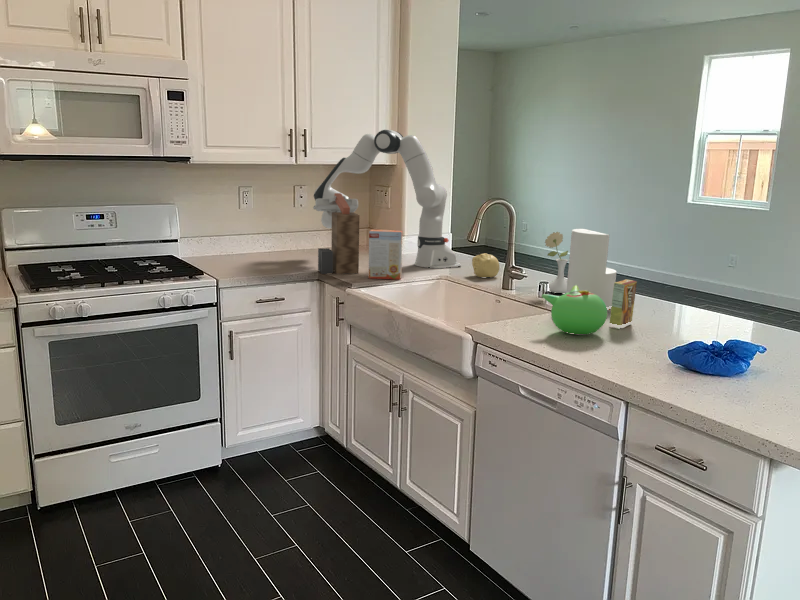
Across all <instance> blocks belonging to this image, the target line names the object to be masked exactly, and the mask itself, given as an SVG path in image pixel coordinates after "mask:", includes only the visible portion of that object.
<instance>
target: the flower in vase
mask: <svg viewBox="0 0 800 600" xmlns="http://www.w3.org/2000/svg"><path fill="white" fill-rule="evenodd" d="M563 239H564V235H563V233H561V232H559V231H556V232H552V233H550V234H549V236H547V237H546V238H545V241H544V243H545V246H546V247H548V248H550V249H551V248H552V249H553V248H556V251H555V250H552V251H550V252H548V253H547V256H549V257H555V256H556V255H558V258H555V261H556V263H557V271H558V272H557V277H556V278H555V279H554V280H552V281H551V282H549V283H548V284H549V288H550V291H551V292H556V293H566V291H567V280H566V279H565V274H564V273H565V267H566V265H567V263H569V259H567V258H562V257H566V256H568V254H569V250H566V251H563V252H561V253H560V254H559V252H558V246H560V244H561V243H562V242H563ZM551 292H550V293H551Z"/></svg>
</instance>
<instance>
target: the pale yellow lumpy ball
mask: <svg viewBox="0 0 800 600" xmlns="http://www.w3.org/2000/svg"><path fill="white" fill-rule="evenodd" d="M471 265H472V268H473V274H474V275H475V276H476V277H478V276H479V277H478V278H480V277H490V278H494V277H496V276H498V274H499V271H500V262H499V260H498V258H497V257H496V256H494V255H493V254H488V253H485V252H484V253H480V254H477V255H475V256H473V257H472V258H471Z"/></svg>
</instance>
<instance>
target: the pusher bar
mask: <svg viewBox="0 0 800 600" xmlns="http://www.w3.org/2000/svg"><path fill="white" fill-rule="evenodd" d="M341 193H342V192H340V193H335V196H336V198H337V199H336V201H335V202H336V203H337V205H338V207H339V208H340V210H341V212H342V214H349V213H350V207H349V205H348V204H347V202H346V201H345V199H344V197H343V196H342V194H343V193H342V194H341Z"/></svg>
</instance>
